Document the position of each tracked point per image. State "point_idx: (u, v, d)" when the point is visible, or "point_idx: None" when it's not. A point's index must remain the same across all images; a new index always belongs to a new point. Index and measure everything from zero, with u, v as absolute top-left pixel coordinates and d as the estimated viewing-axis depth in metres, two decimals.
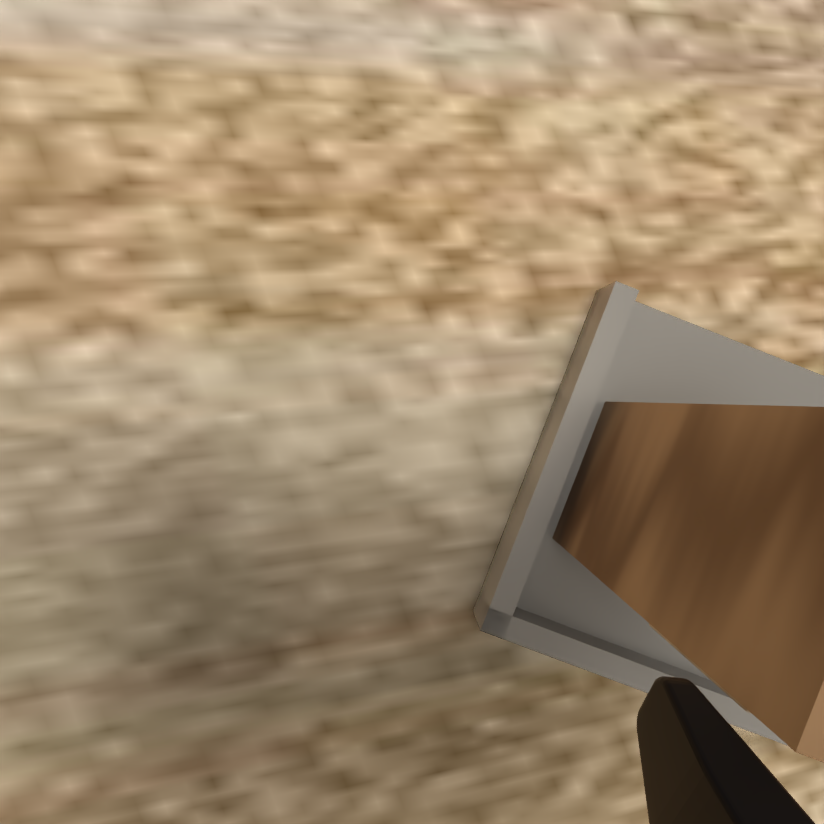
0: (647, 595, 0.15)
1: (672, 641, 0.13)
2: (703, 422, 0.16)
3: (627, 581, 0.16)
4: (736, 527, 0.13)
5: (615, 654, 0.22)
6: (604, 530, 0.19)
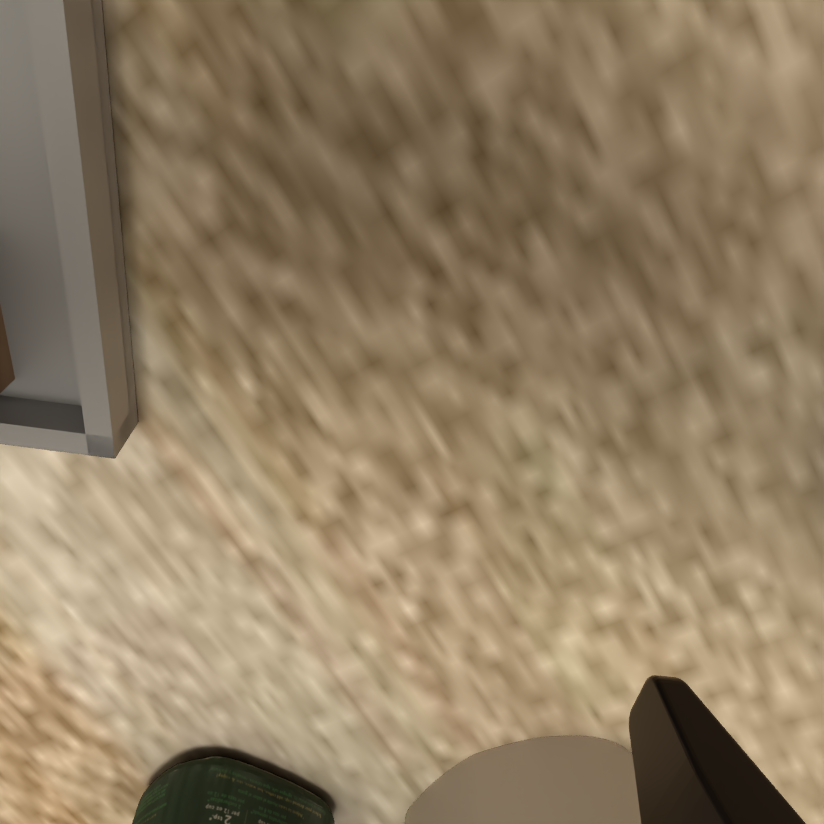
0: None
1: None
2: None
3: None
4: None
5: (72, 325, 0.19)
6: None
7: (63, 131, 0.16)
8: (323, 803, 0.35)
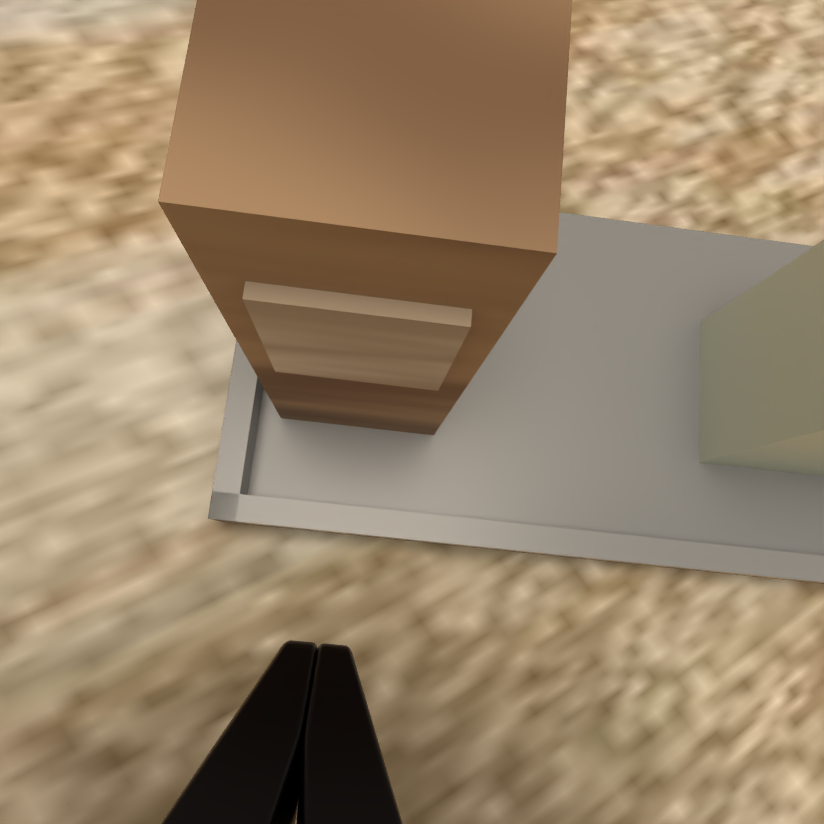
0: None
1: (222, 312, 0.12)
2: None
3: None
4: None
5: (361, 507, 0.20)
6: None
7: (529, 540, 0.20)
8: None
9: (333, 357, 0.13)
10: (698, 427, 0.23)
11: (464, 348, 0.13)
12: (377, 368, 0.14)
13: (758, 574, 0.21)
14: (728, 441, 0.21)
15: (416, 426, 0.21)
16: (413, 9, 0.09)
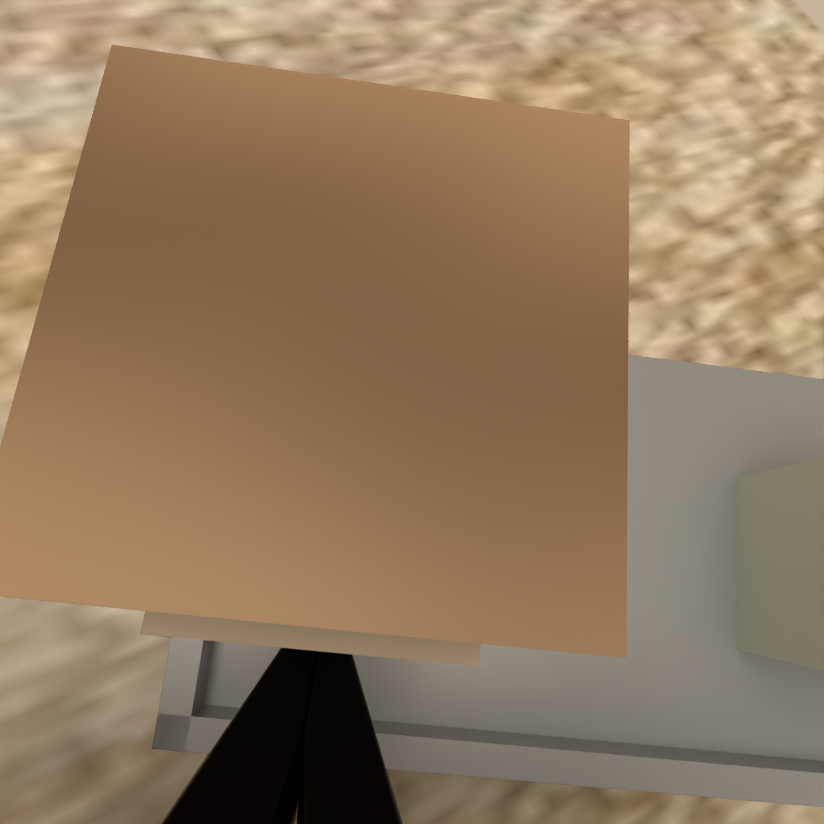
0: None
1: None
2: None
3: None
4: None
5: None
6: None
7: (538, 767, 0.17)
8: None
9: None
10: (734, 606, 0.20)
11: None
12: None
13: (811, 804, 0.17)
14: (774, 642, 0.18)
15: None
16: (392, 249, 0.06)
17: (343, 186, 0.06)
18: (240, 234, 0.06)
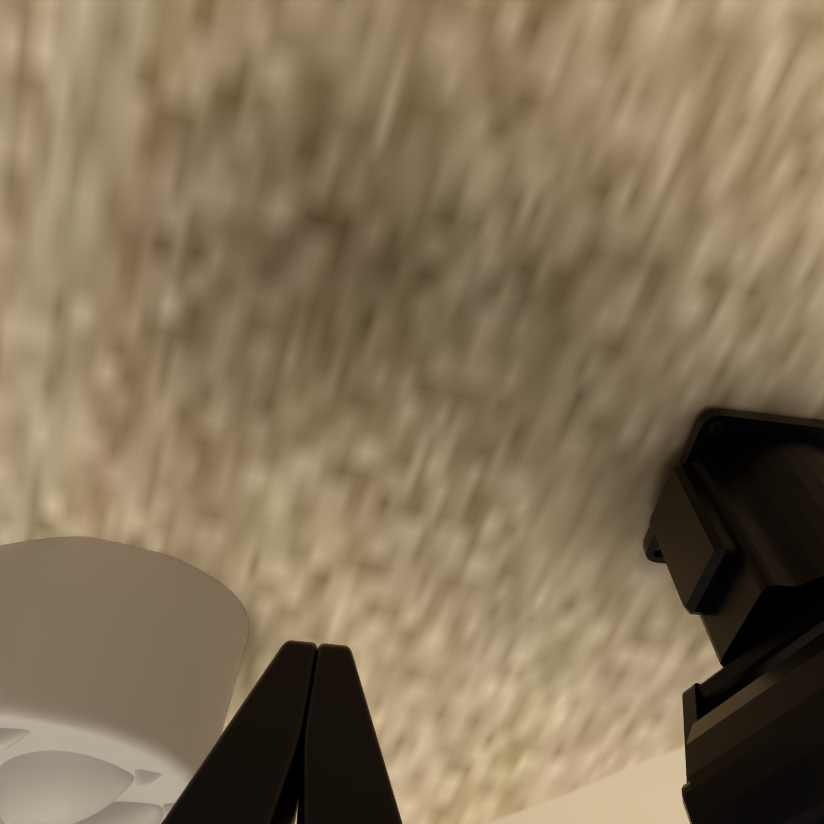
0: None
1: None
2: None
3: None
4: None
5: None
6: None
7: None
8: None
9: None
10: None
11: None
12: None
13: None
14: None
15: None
16: None
17: None
18: None
